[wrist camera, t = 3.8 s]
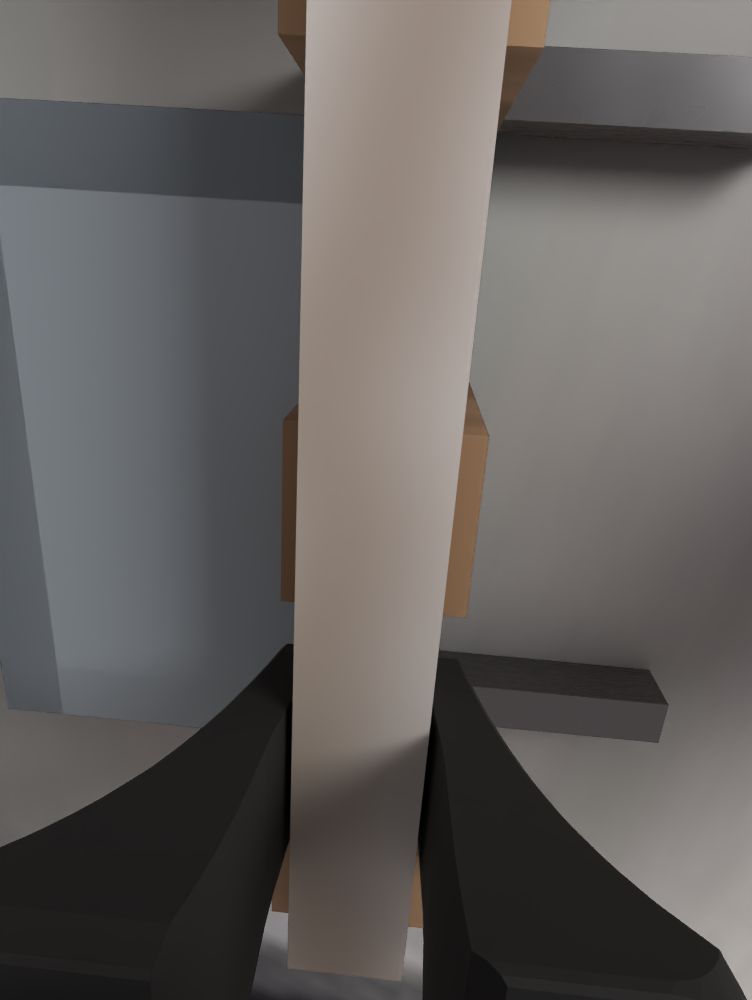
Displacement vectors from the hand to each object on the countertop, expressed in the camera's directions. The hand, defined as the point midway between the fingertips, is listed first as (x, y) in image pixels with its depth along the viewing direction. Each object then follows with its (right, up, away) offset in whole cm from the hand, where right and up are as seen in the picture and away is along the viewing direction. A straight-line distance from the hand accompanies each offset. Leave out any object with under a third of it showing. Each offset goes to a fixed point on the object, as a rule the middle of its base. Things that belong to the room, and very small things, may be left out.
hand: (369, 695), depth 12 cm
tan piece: (+1, +6, +4) cm, 7 cm away
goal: (-3, +6, +4) cm, 8 cm away
